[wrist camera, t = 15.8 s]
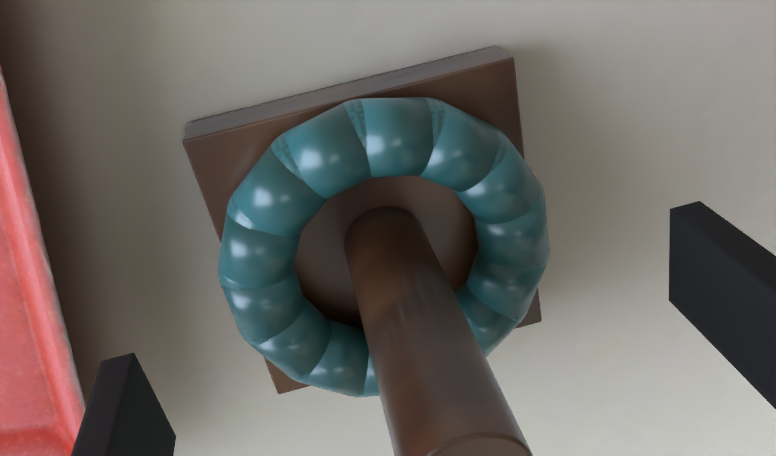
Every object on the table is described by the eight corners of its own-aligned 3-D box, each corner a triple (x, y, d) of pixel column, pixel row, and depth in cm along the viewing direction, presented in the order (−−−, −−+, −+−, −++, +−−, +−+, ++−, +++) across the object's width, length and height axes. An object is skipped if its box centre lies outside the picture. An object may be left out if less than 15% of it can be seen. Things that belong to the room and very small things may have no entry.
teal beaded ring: (515, 48, 18) (544, 66, 16) (544, 325, 22) (569, 363, 20) (172, 133, 17) (164, 163, 15) (274, 399, 22) (276, 446, 20)
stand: (496, 44, 19) (722, 198, 10) (526, 297, 23) (701, 566, 14) (186, 122, 18) (120, 362, 9) (276, 365, 23) (292, 692, 14)
